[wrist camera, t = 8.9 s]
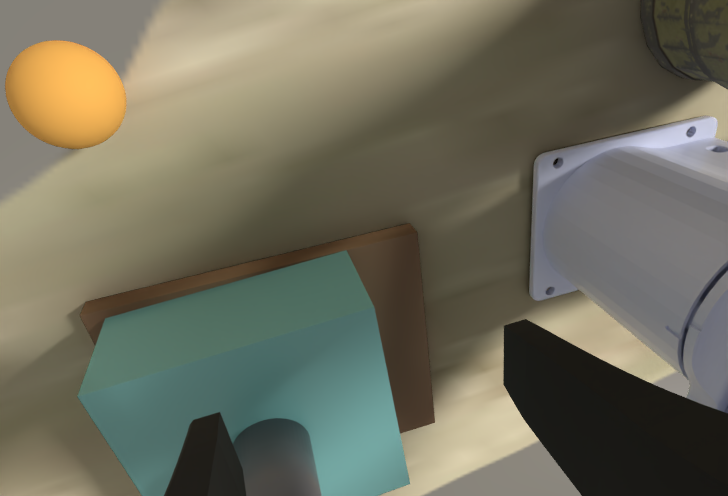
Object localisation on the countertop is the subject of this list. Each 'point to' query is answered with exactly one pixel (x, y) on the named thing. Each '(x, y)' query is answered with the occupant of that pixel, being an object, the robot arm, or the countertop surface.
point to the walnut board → (382, 282)
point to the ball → (65, 94)
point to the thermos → (689, 37)
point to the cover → (255, 383)
